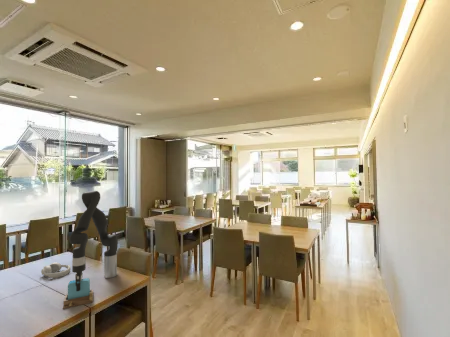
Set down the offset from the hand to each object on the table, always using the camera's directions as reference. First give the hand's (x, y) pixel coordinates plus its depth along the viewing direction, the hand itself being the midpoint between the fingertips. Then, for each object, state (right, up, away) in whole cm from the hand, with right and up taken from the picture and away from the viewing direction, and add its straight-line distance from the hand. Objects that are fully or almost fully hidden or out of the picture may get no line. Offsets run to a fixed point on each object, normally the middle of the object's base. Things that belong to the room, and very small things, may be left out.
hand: (79, 288), depth 156 cm
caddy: (0, -8, 0) cm, 8 cm away
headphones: (-45, -10, +42) cm, 62 cm away
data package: (0, -7, 0) cm, 7 cm away
